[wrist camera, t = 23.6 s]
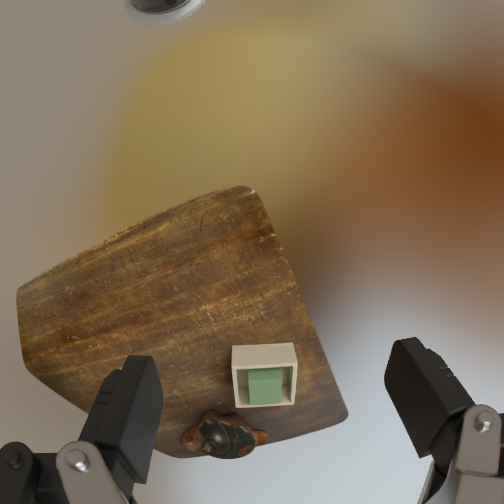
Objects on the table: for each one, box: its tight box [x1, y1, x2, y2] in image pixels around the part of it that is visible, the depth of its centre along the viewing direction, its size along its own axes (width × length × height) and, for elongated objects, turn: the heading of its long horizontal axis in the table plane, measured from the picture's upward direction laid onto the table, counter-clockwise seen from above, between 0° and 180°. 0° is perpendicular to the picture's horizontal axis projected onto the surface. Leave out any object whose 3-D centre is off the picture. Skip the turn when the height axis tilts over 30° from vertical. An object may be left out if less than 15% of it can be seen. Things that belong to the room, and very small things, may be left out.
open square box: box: [231, 342, 298, 408], centre depth 41 cm, size 9×9×5 cm
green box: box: [248, 367, 282, 404], centre depth 41 cm, size 5×4×5 cm
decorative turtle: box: [179, 409, 268, 459], centre depth 45 cm, size 10×15×8 cm, turn 81°
